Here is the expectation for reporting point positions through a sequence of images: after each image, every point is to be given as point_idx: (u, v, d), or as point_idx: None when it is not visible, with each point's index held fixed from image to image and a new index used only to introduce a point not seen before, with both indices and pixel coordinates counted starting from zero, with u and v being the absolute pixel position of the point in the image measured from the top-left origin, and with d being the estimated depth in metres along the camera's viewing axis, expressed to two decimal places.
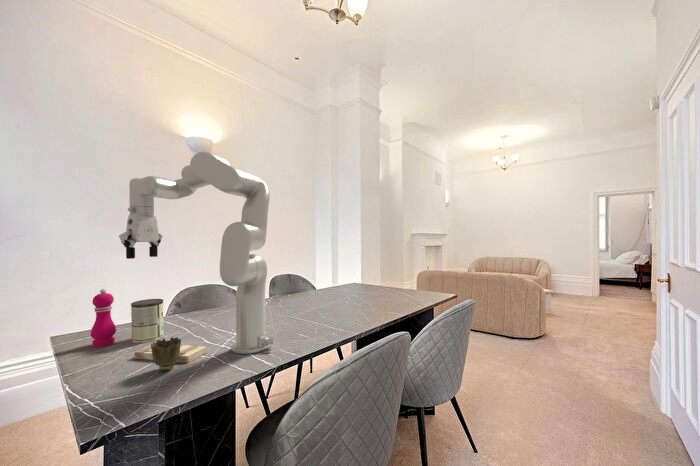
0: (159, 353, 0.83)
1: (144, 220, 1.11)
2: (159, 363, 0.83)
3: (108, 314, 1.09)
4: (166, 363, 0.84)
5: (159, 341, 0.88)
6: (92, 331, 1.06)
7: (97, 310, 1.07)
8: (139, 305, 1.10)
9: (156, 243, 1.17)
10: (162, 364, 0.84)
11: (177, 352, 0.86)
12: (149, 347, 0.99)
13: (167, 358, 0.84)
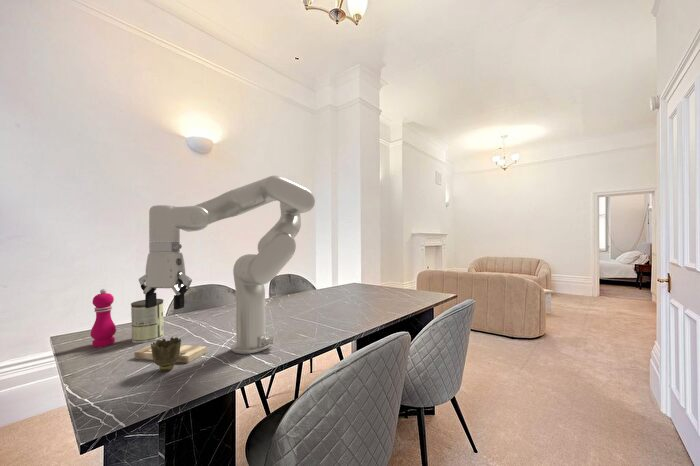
0: (159, 353, 0.83)
1: None
2: (159, 363, 0.83)
3: (108, 314, 1.09)
4: (166, 363, 0.84)
5: (159, 341, 0.88)
6: (92, 331, 1.06)
7: (97, 310, 1.07)
8: (139, 305, 1.10)
9: None
10: (162, 364, 0.84)
11: (177, 352, 0.86)
12: (149, 347, 0.99)
13: (167, 358, 0.84)
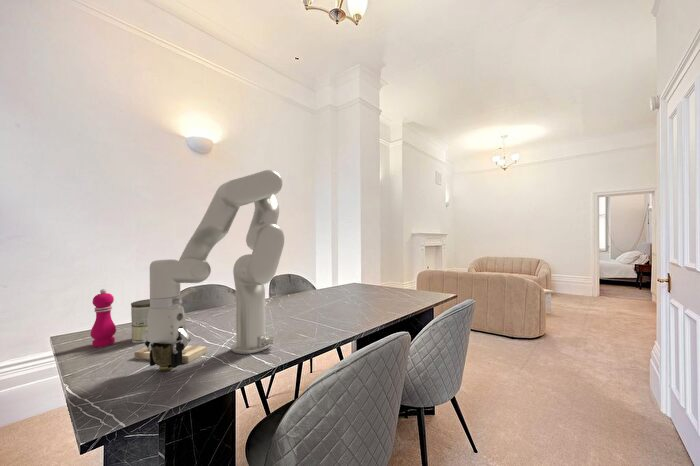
0: (159, 353, 0.83)
1: None
2: (159, 363, 0.83)
3: (108, 314, 1.09)
4: (166, 363, 0.84)
5: None
6: (92, 331, 1.06)
7: (97, 310, 1.07)
8: (139, 305, 1.10)
9: None
10: (162, 364, 0.84)
11: None
12: None
13: (167, 358, 0.84)
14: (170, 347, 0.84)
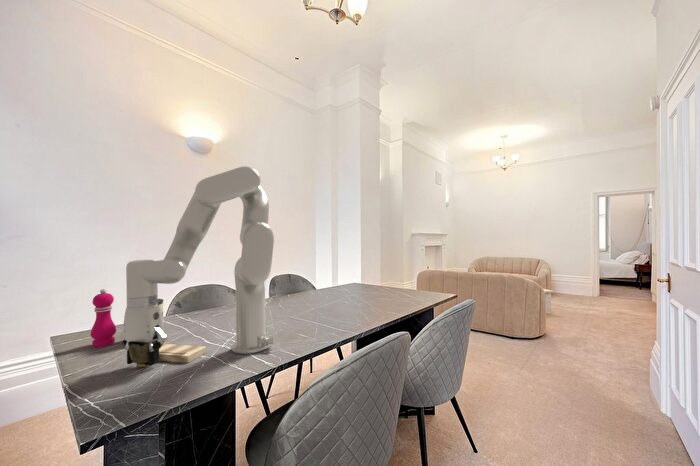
0: (135, 351, 0.85)
1: None
2: (136, 361, 0.85)
3: (108, 314, 1.09)
4: (142, 361, 0.86)
5: None
6: (92, 331, 1.06)
7: (97, 310, 1.07)
8: None
9: None
10: (139, 362, 0.86)
11: None
12: None
13: (143, 356, 0.86)
14: (146, 345, 0.86)
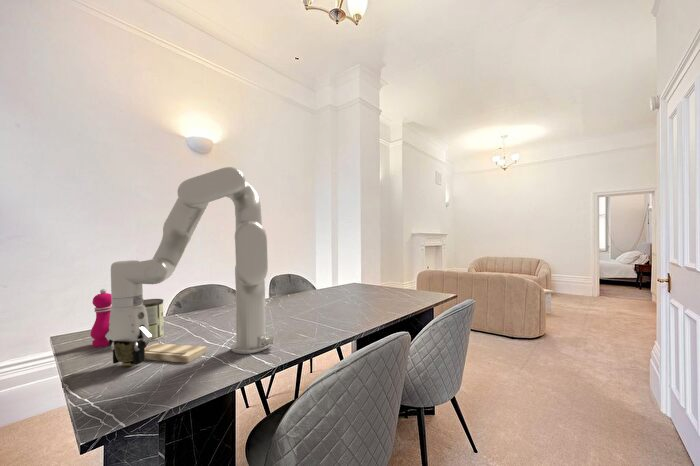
0: (121, 350, 0.86)
1: None
2: (121, 359, 0.87)
3: (108, 314, 1.09)
4: (128, 359, 0.87)
5: None
6: (92, 331, 1.06)
7: (97, 310, 1.07)
8: None
9: None
10: (124, 360, 0.87)
11: None
12: (149, 347, 0.99)
13: (129, 355, 0.87)
14: (131, 344, 0.87)
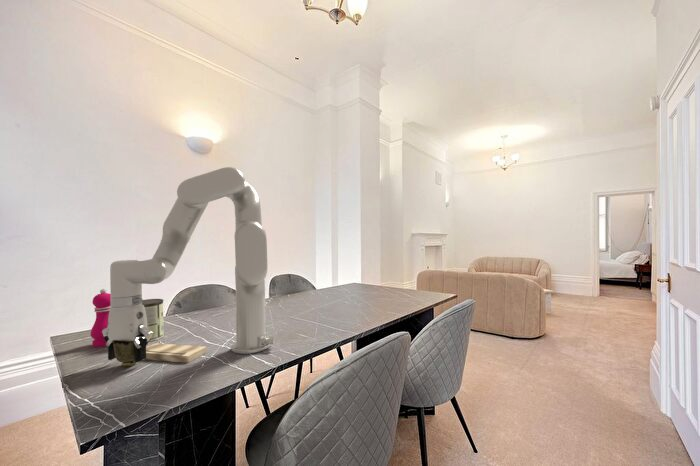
0: (120, 350, 0.86)
1: None
2: (120, 359, 0.87)
3: (108, 314, 1.09)
4: (127, 359, 0.87)
5: None
6: (92, 331, 1.06)
7: (97, 310, 1.07)
8: None
9: None
10: (123, 360, 0.87)
11: None
12: (149, 347, 0.99)
13: (128, 355, 0.87)
14: (131, 344, 0.87)
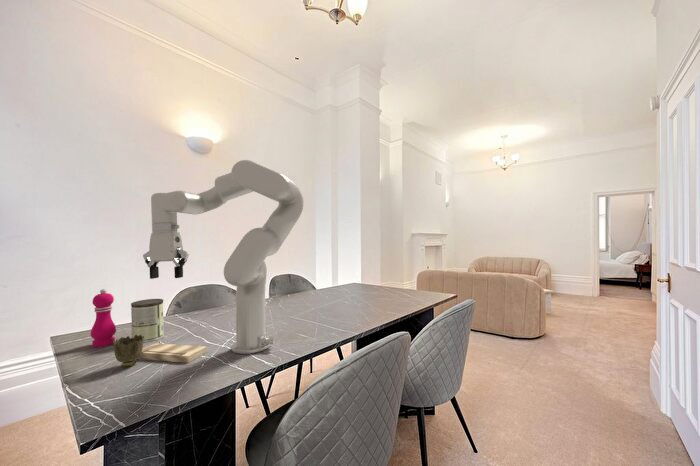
0: (120, 350, 0.86)
1: None
2: (120, 359, 0.87)
3: (108, 314, 1.09)
4: (127, 359, 0.87)
5: (123, 338, 0.91)
6: (92, 331, 1.06)
7: (97, 310, 1.07)
8: (139, 305, 1.10)
9: None
10: (123, 360, 0.87)
11: (139, 349, 0.89)
12: (149, 347, 0.99)
13: (128, 355, 0.87)
14: (131, 344, 0.87)
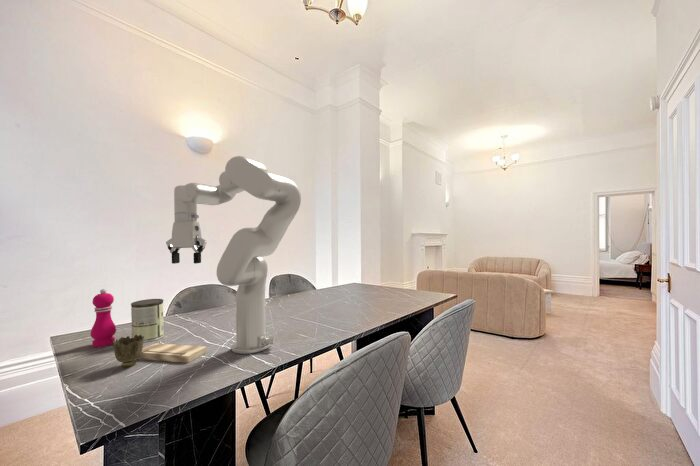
0: (120, 350, 0.86)
1: None
2: (120, 359, 0.87)
3: (108, 314, 1.09)
4: (127, 359, 0.87)
5: (123, 338, 0.91)
6: (92, 331, 1.06)
7: (97, 310, 1.07)
8: (139, 305, 1.10)
9: None
10: (123, 360, 0.87)
11: (139, 349, 0.89)
12: (149, 347, 0.99)
13: (128, 355, 0.87)
14: (131, 344, 0.87)
